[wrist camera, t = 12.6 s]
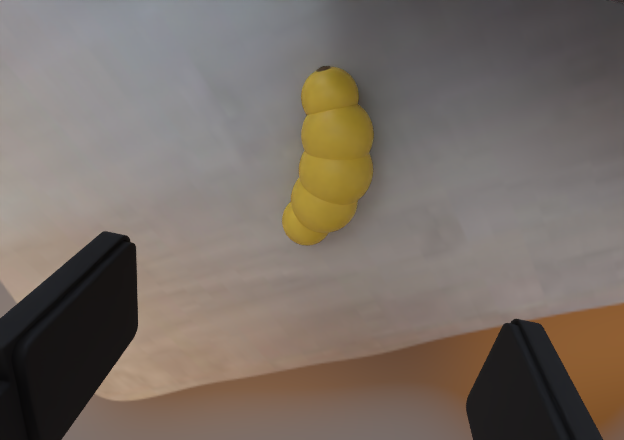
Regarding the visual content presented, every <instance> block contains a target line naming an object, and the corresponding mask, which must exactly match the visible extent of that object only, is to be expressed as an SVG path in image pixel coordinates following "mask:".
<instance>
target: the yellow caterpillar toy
mask: <svg viewBox="0 0 624 440" xmlns="http://www.w3.org/2000/svg"><path fill="white" fill-rule="evenodd" d="M358 100H359V93H358V88H357V85H356V83H355V81H354V79H353V78H352V77H351V76H350V74H348V73H347V72H346V71H344V70H342V69H340V68H337V67H330V66H323V67H320V68H319V69H317V70H316V71H315V72H313V73H312V74H311V75H310V76H309V77H308V78H307V80H306V81H305V83H304V85H303V88H302V93H301V101H302V106H303V109H304V111H305V113H306V114H307V116H306V118H305V120H304V123H303V126H302V132H301V139H302V144H303V148H304V150H305V151H304V152H303V154H302V157H301V159H300V164H299V178H298V180H297V181H296V183H295V185H294V187H293V190H292V194H291V202H290V203H289V204H288V205H287V207H286V208H285V210H284V213H283V217H282V225H283V228H284V231H285V233H286V235H287V236H288V237H289V238H290V239H291V240H292V241H294V242H295V243H297V244H300V245H314V244H317V243H319V242H320V241H322V240H323V239H324V238H325V237H326V236H327V235H328V233H329V232H334V231H337V230H339V229H341V228H343V227H344V226H345V225H346V224H348V223H349V222H350V220H351V219H352V218H353V216H354V214H355V212H356V209H357V204H358V200H359V199H360V198H361V197H362V196H363V195H364V194H365V193H366V191H367V190H368V188H369V186H370V184H371V181H372V176H373V164H372V159H371V156H370V154H369V152H370V149H371V147H372V144H373V138H374V131H373V126H372V122H371V120H370V117H369V116H368V114H367V113H366V111H365V110H364V109H363V108H362V107H361V106H359V105H358Z"/></svg>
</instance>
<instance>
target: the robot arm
mask: <svg viewBox="0 0 624 440" xmlns="http://www.w3.org/2000/svg"><path fill="white" fill-rule="evenodd" d="M137 328H138V303H137V264H136V246H135V244H134V243H131V242H130V239H129V237H128V236H126V235H121V234H116V233H112V232H107V231H105V232H102V233H101V234H99V235H98V236H97V237H96V238H95V239H93V240H92V241H91V242H90V243H89V244H88V245H86V246H85V247H84V248H83V249H82V250H80V251H79V252H78V253H77V254H76V255H75V256H73V257H72V258H71V259H70V260H69V261H67V262H66V263H65V264H64V265H63V266H62V267H60V268H59V269H58V270H57V271H56V272H55V273H53V274H52V275H51V276H50V277H49V278H47V279H46V280H45V281H44V282H43V283H42V284H40V285H39V286H38V287H37V288H36V289H34V290H33V291H32V292H31V293H30V294H29V295H27V296H26V297H25V298H24V299H23V300H21V301H20V302H19V303H18V304H17V305H16V306H14V307H13V308H12V309H11V310H10V311H8V313H6V314H5V315H4V316H3V317H1V318H0V440H61V439H62V438H63V437H64V435H65V434H66V432H67V431H68V430H69V428H70V427H71V425H72V424H73V423H74V421H75V420H76V418H77V417H78V416H79V414H80V413H81V411H82V410H83V409H84V407H85V406H86V404H87V403H88V401H89V400H90V399H91V397H92V396H93V395H94V393H95V392H96V390H97V389H98V387H99V386H100V385H101V383H102V382H103V380H104V379H105V378H106V376H107V375H108V373H109V372H110V371H111V369H112V368H113V366H114V365H115V364H116V362H117V361H118V359H119V358H120V357H121V355H122V354H123V352H124V351H125V350H126V348H127V347H128V345H129V344H130V343H131V341H132V340H133V338H134V336H135V334H136V332H137ZM466 411H467V416H468V420H469V424H470V429H471V433H472V437H473V440H603V439H602V437H601V435H600V433H599V431H598V429H597V427H596V425H595V423H594V422H593V420H592V418H591V416H590V414H589V412H588V410H587V408H586V407H585V405H584V403H583V401H582V399H581V397H580V396H579V393H578V392H577V390H576V388H575V386H574V384H573V382H572V380H571V379H570V377H569V375H568V373H567V371H566V369H565V367H564V365H563V363H562V362H561V360H560V358H559V356H558V354H557V352H556V351H555V349H554V347H553V345H552V343H551V341H550V339H549V337H548V335H547V334H546V332H545V330H544V328H543V327H542V325H541V324H539V323H534V322H529V321H525V320H520V319H514V320H513V321H511V323H505V324H504V325H503V326H502V328H501V330H500V332H499V334H498V337H497V338H496V341H495V343H494V345H493V347H492V349H491V351H490V353H489V355H488V357H487V359H486V361H485V363H484V365H483V367H482V369H481V371H480V373H479V375H478V377H477V379H476V381H475V383H474V386H473V388H472V389H471V391H470V394H469V396H468V398H467V403H466Z"/></svg>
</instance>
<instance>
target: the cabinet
mask: <svg viewBox="0 0 624 440" xmlns="http://www.w3.org/2000/svg"><path fill="white" fill-rule="evenodd" d="M608 1H614V2H619V3H624V0H608Z"/></svg>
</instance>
